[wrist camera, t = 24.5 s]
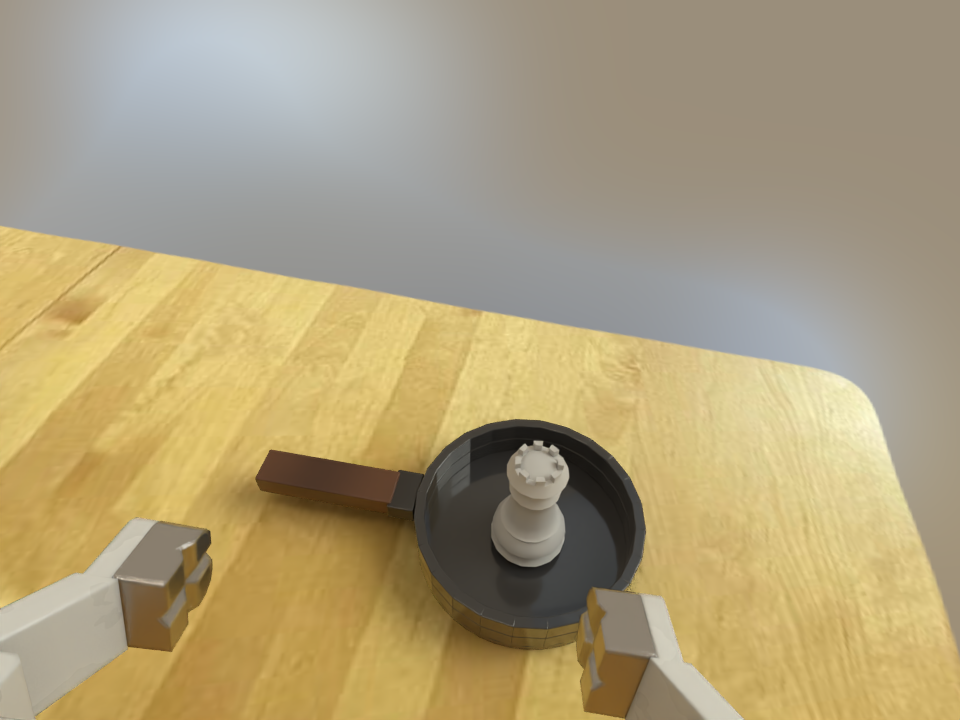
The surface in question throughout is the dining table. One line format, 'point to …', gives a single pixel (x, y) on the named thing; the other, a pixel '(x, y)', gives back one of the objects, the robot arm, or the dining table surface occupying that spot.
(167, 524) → the robot arm
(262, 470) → the pan handle
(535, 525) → the rook chess piece
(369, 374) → the dining table surface
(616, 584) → the pan
